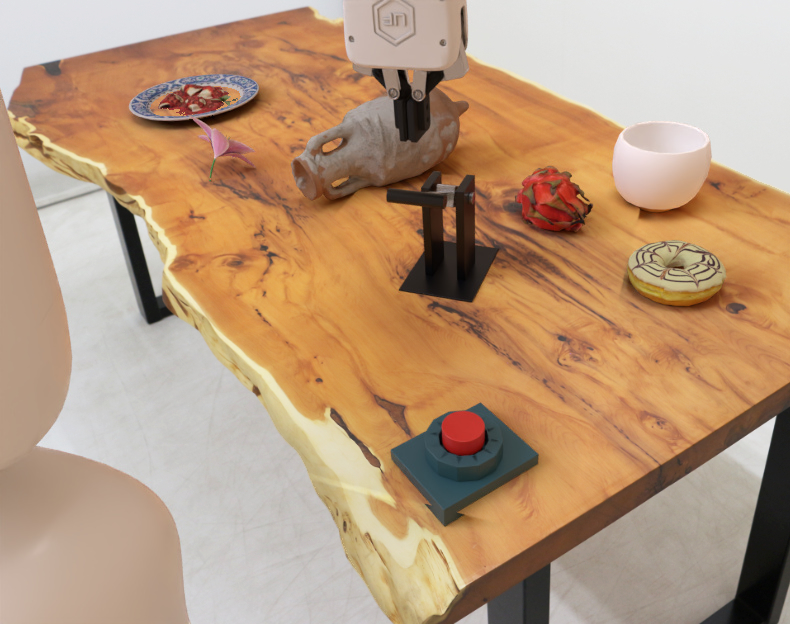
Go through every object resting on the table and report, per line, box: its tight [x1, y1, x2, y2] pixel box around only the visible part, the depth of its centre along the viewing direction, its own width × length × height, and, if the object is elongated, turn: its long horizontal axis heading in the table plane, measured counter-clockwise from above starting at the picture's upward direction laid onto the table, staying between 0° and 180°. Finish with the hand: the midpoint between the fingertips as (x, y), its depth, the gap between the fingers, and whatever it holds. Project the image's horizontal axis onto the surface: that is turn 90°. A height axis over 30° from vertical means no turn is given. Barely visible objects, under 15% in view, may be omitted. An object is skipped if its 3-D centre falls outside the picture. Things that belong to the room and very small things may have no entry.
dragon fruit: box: [514, 165, 594, 233], centre depth 93 cm, size 8×8×12 cm
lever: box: [385, 183, 460, 210], centre depth 76 cm, size 13×6×2 cm, turn 158°
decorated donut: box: [626, 239, 728, 307], centre depth 82 cm, size 10×11×4 cm
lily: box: [188, 115, 257, 182], centre depth 115 cm, size 12×12×10 cm
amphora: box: [290, 81, 470, 201], centre depth 107 cm, size 14×16×30 cm
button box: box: [390, 402, 540, 527], centre depth 62 cm, size 10×8×4 cm
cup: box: [611, 120, 713, 213], centre depth 96 cm, size 12×12×10 cm
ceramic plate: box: [128, 73, 260, 122], centre depth 143 cm, size 26×26×3 cm
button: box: [442, 410, 485, 456], centre depth 60 cm, size 4×4×2 cm
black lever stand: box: [398, 170, 500, 304], centre depth 84 cm, size 12×9×13 cm
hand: (413, 136), depth 67 cm, fingers closed
